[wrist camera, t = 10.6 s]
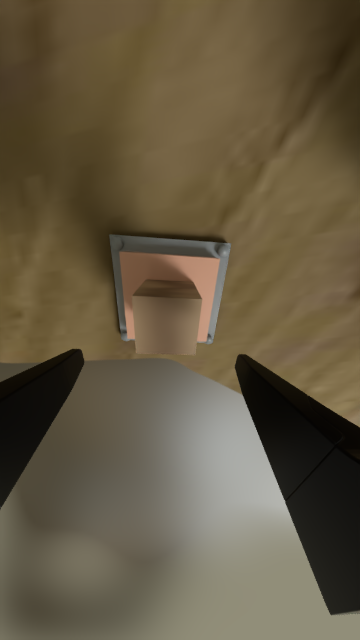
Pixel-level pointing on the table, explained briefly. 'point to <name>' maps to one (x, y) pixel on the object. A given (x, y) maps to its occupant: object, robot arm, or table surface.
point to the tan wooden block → (166, 317)
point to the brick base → (173, 248)
